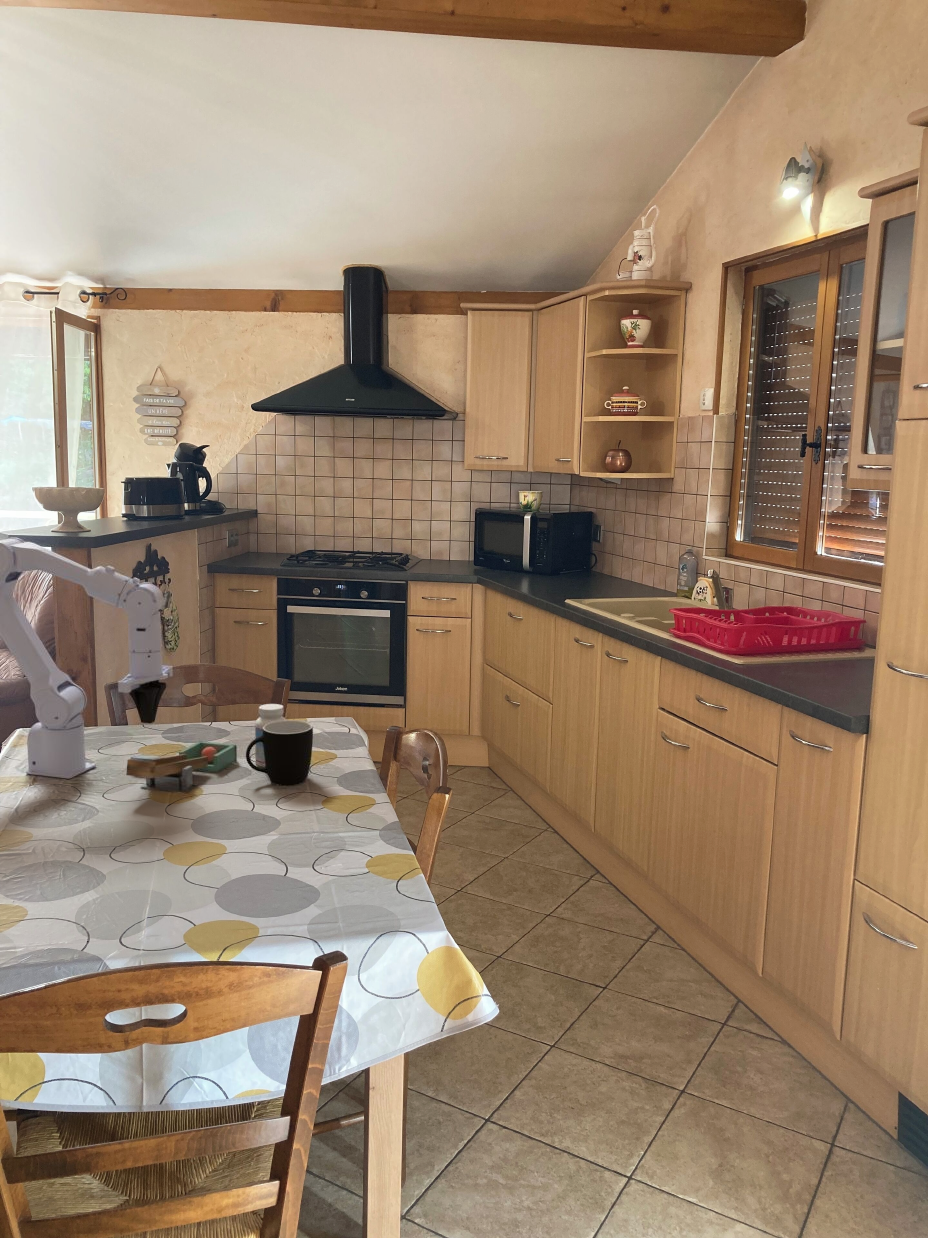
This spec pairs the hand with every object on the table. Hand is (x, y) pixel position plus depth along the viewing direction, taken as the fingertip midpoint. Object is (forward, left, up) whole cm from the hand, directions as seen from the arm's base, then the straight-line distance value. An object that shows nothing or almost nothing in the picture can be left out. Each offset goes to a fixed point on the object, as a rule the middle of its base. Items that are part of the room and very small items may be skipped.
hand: (147, 722), depth 174 cm
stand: (+9, -7, -9) cm, 14 cm away
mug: (+26, +2, -10) cm, 27 cm away
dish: (+9, +7, -9) cm, 14 cm away
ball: (+9, +7, -8) cm, 13 cm away
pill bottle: (+20, +11, -10) cm, 24 cm away
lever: (+5, -7, -7) cm, 11 cm away
